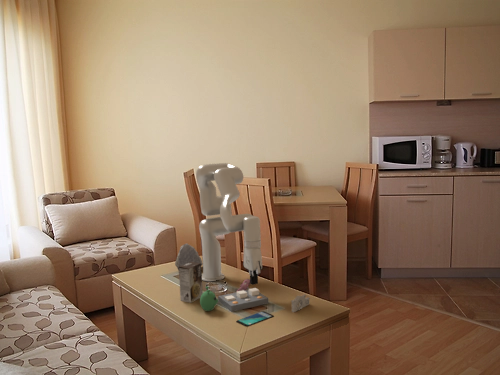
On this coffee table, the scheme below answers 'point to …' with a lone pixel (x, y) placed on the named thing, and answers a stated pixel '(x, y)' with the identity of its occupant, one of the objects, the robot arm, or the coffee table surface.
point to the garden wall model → (298, 300)
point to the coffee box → (190, 281)
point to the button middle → (241, 294)
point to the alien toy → (208, 300)
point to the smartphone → (254, 318)
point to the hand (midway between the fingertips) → (254, 284)
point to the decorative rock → (187, 256)
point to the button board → (243, 301)
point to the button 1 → (229, 298)
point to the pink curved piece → (244, 285)
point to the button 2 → (253, 291)
